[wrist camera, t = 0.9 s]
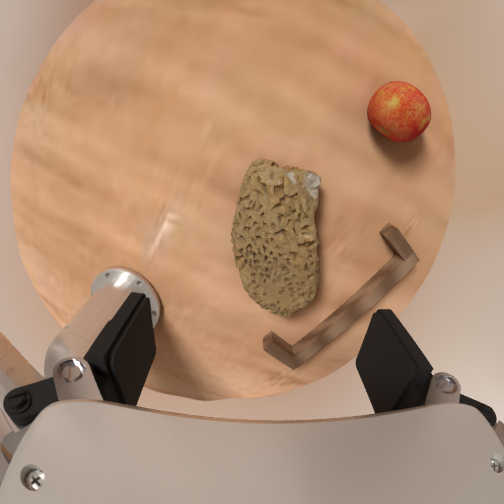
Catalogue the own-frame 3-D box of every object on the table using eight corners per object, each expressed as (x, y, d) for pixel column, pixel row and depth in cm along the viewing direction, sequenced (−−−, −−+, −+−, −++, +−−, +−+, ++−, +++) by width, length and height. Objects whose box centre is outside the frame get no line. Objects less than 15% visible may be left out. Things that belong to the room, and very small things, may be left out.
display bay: (291, 358, 46) (293, 369, 44) (262, 338, 45) (263, 350, 42) (410, 252, 40) (419, 260, 37) (388, 222, 38) (397, 228, 35)
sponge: (239, 160, 36) (214, 302, 39) (253, 151, 29) (221, 326, 32) (325, 181, 39) (299, 310, 42) (355, 179, 32) (321, 331, 35)
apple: (417, 125, 32) (449, 123, 25) (379, 153, 34) (409, 156, 27) (388, 79, 30) (417, 67, 23) (348, 105, 32) (372, 96, 24)
